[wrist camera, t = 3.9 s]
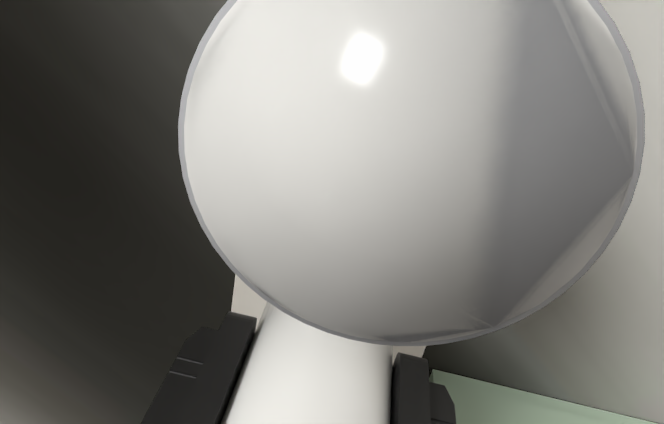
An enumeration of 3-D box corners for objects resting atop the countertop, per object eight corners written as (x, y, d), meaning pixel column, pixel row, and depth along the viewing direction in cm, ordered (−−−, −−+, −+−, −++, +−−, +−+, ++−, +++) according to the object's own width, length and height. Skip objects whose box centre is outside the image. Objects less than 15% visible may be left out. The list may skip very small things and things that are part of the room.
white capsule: (321, 65, 14) (171, 296, 5) (349, -93, 12) (188, -142, 3) (456, 95, 14) (532, 383, 5) (505, -58, 12) (756, -17, 3)
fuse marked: (275, 299, 17) (142, 669, 9) (291, 206, 16) (144, 557, 7) (382, 325, 17) (354, 723, 9) (411, 234, 16) (412, 625, 7)
